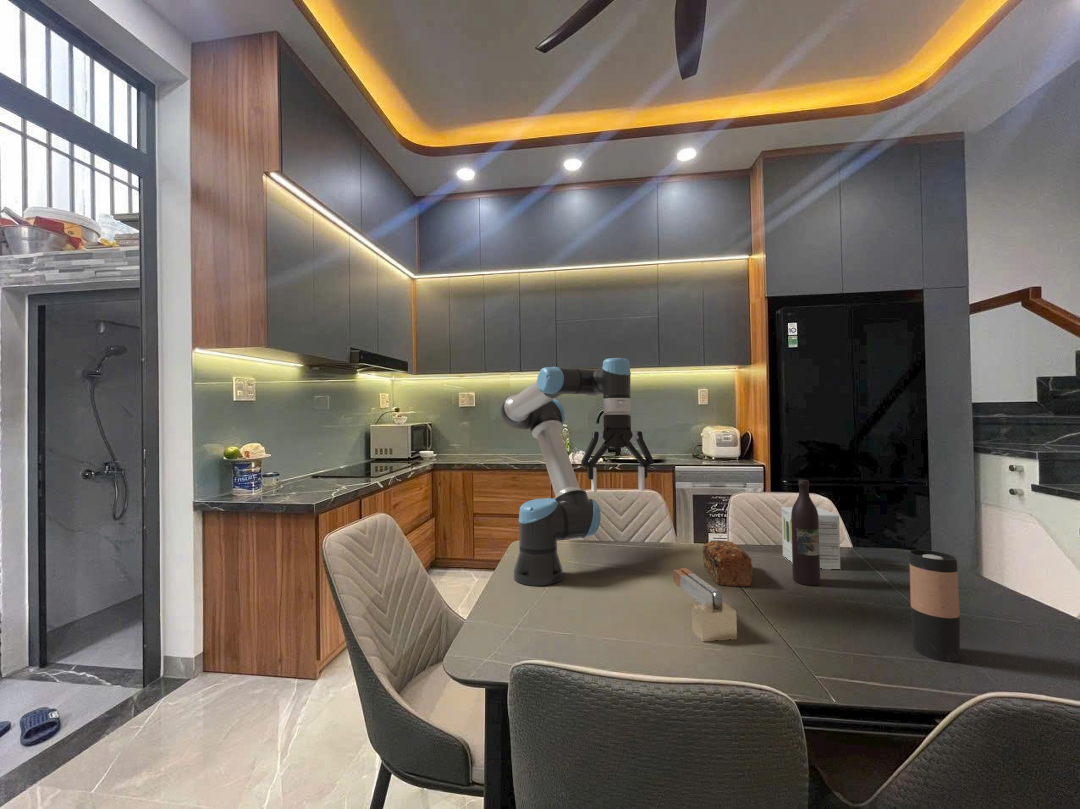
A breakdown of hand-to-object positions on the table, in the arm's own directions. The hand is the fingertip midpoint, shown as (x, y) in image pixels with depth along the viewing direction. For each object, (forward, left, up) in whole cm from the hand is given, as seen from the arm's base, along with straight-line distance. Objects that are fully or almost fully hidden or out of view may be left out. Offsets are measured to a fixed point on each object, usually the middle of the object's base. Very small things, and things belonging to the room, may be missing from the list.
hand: (617, 490), depth 125 cm
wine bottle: (-2, +58, -29) cm, 65 cm away
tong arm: (+17, +15, -23) cm, 32 cm away
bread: (-11, +37, -29) cm, 49 cm away
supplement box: (-18, +72, -29) cm, 80 cm away
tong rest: (+18, +14, -29) cm, 37 cm away
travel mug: (+39, +55, -29) cm, 73 cm away
